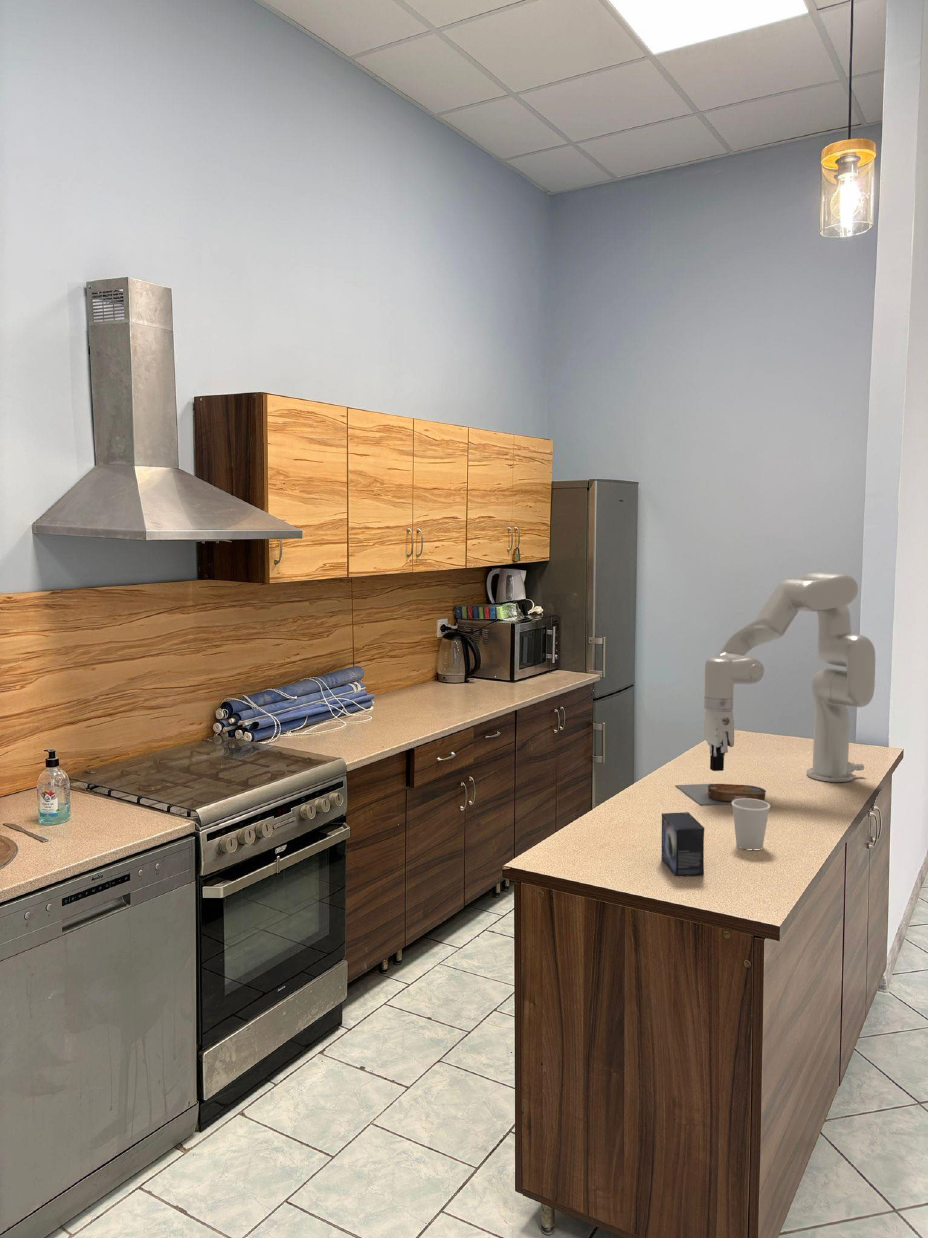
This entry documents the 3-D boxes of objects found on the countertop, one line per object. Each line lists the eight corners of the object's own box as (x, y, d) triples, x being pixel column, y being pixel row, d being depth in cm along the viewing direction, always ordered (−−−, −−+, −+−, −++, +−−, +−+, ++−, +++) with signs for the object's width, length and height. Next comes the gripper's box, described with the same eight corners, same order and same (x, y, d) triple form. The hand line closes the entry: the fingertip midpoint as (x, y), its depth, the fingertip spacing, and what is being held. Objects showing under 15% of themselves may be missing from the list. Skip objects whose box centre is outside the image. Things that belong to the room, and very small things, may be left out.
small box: (659, 859, 197) (659, 812, 196) (688, 858, 198) (689, 811, 197) (674, 877, 187) (675, 828, 186) (704, 876, 187) (706, 827, 186)
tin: (760, 785, 245) (770, 792, 236) (760, 797, 245) (769, 804, 236) (704, 782, 245) (712, 789, 237) (704, 794, 245) (711, 801, 237)
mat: (712, 784, 255) (712, 783, 255) (740, 803, 237) (740, 802, 237) (675, 786, 253) (675, 785, 253) (700, 805, 235) (700, 804, 235)
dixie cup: (763, 855, 199) (765, 811, 198) (725, 848, 203) (727, 805, 202) (772, 844, 206) (774, 801, 205) (736, 838, 210) (737, 796, 210)
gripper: (744, 708, 236) (742, 777, 238) (720, 698, 251) (718, 762, 253) (716, 709, 235) (714, 778, 237) (694, 698, 250) (692, 763, 252)
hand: (716, 770), depth 245 cm, fingers closed
